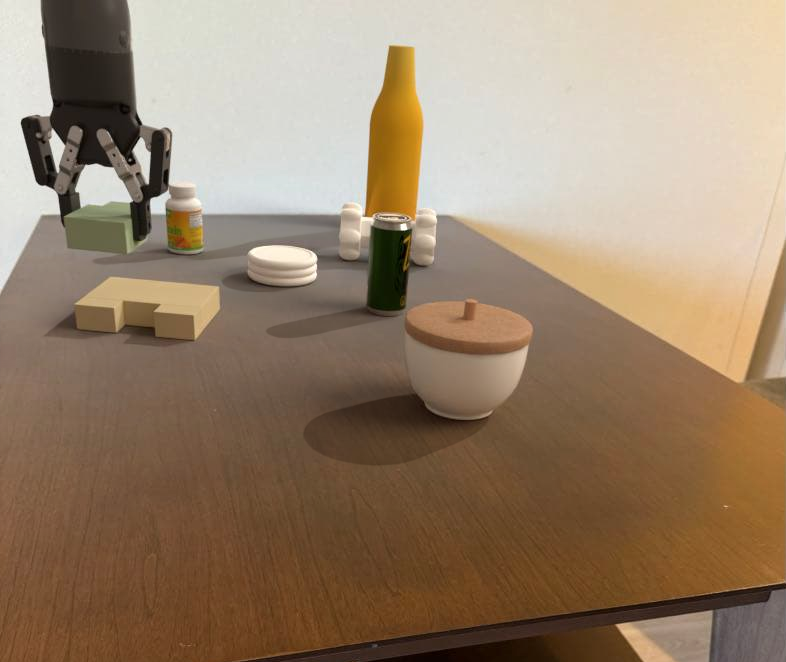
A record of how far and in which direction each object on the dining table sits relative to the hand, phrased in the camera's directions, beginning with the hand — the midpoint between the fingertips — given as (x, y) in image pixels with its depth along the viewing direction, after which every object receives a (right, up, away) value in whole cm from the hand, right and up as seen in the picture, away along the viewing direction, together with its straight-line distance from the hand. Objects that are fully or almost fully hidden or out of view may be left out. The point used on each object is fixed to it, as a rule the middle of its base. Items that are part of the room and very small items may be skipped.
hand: (107, 235), depth 85 cm
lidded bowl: (+35, -17, +3) cm, 39 cm away
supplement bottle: (-4, +14, +48) cm, 50 cm away
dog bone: (+27, +14, +51) cm, 60 cm away
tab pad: (0, 0, +1) cm, 2 cm away
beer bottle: (+28, +25, +69) cm, 78 cm away
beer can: (+28, 0, +29) cm, 40 cm away
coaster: (+12, +8, +39) cm, 41 cm away
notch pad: (-1, -3, +19) cm, 20 cm away
